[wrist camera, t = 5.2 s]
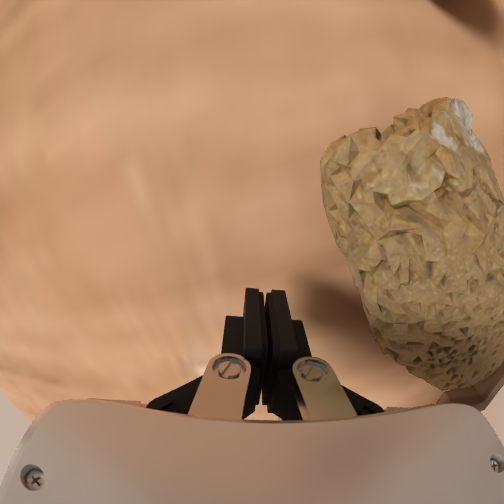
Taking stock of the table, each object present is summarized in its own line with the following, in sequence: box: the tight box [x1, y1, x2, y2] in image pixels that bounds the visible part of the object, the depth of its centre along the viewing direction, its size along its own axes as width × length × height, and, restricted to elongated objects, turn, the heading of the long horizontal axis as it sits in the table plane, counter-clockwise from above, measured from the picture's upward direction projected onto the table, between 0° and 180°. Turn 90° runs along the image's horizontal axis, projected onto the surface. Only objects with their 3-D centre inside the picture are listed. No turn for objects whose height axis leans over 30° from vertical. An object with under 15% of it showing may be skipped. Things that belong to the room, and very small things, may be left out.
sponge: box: [320, 97, 504, 390], centre depth 12 cm, size 13×8×20 cm
